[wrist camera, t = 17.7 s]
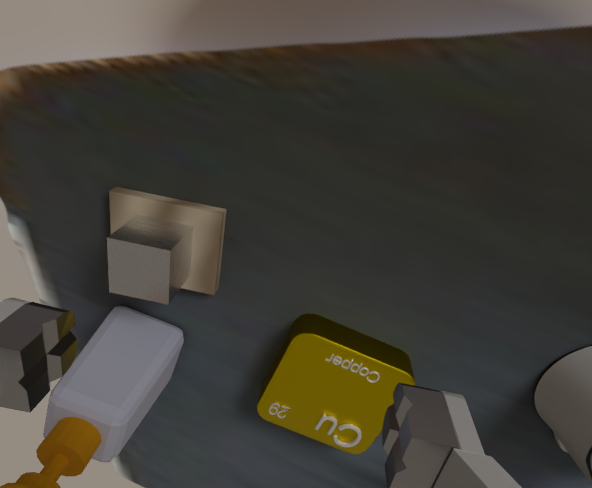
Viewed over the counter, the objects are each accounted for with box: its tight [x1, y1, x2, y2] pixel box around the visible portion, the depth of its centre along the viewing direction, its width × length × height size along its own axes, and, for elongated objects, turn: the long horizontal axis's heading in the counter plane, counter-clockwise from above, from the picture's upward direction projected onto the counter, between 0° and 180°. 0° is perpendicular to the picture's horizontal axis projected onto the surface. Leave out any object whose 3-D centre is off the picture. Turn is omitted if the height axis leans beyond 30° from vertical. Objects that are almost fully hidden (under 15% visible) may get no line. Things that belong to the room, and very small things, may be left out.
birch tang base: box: [109, 187, 226, 295], centre depth 42 cm, size 12×10×6 cm
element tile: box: [257, 314, 415, 454], centre depth 48 cm, size 15×15×5 cm
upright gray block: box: [107, 215, 193, 305], centre depth 40 cm, size 6×6×6 cm
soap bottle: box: [0, 306, 184, 488], centre depth 42 cm, size 10×14×22 cm
